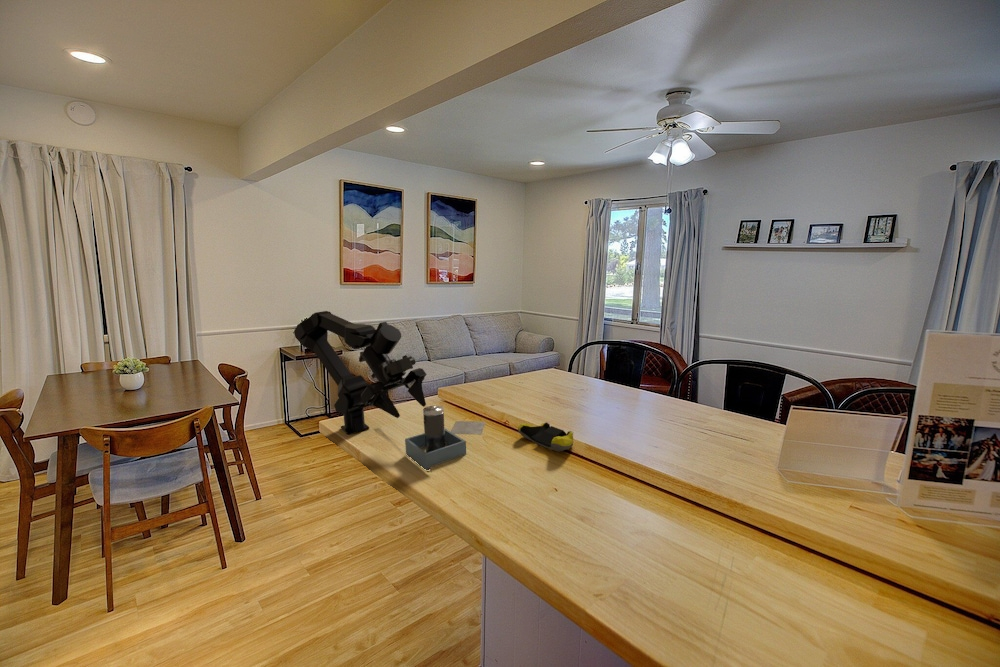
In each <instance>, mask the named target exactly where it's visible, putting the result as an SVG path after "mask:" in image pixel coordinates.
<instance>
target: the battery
mask: <svg viewBox="0 0 1000 667" xmlns="http://www.w3.org/2000/svg"><path fill="white" fill-rule="evenodd" d="M422 412H423V413H422V414H423V428H424V429H423V430H424V433H425V448H424V449H425V452H426V453H428V452H431V451H434V450H437V449H440V448H443V447H446V442H445V430H444V428H445V414H444V412H445V411H444V407H443V406H442V405H433V404H432V405H429V406H425V407H423V410H422Z"/></svg>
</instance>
